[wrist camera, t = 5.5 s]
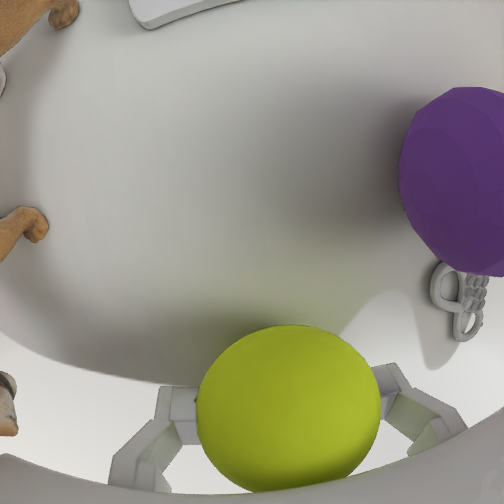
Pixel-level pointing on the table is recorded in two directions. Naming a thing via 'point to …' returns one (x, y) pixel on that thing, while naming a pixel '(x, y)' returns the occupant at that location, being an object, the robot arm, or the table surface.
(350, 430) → the ball
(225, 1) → the smartphone
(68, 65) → the table surface
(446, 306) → the charm
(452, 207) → the kendama
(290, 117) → the table surface
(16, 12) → the lion figurine
